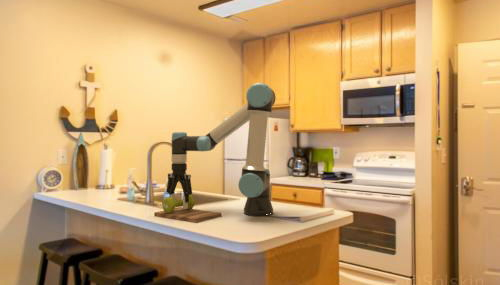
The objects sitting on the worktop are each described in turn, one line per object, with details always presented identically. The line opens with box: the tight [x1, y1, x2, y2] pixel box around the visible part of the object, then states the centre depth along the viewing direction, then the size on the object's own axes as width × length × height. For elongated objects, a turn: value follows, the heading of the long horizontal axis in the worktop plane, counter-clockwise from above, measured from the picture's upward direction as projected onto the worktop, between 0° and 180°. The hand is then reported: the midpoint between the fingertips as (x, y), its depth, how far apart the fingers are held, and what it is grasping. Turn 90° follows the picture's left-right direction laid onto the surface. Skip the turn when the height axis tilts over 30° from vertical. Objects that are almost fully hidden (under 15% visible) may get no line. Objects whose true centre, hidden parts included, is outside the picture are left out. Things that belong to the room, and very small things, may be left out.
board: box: [153, 206, 222, 224], centre depth 183 cm, size 28×18×2 cm, turn 56°
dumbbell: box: [161, 194, 196, 213], centre depth 186 cm, size 16×8×7 cm, turn 139°
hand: (178, 207), depth 186 cm, fingers closed on dumbbell, 8 cm apart
